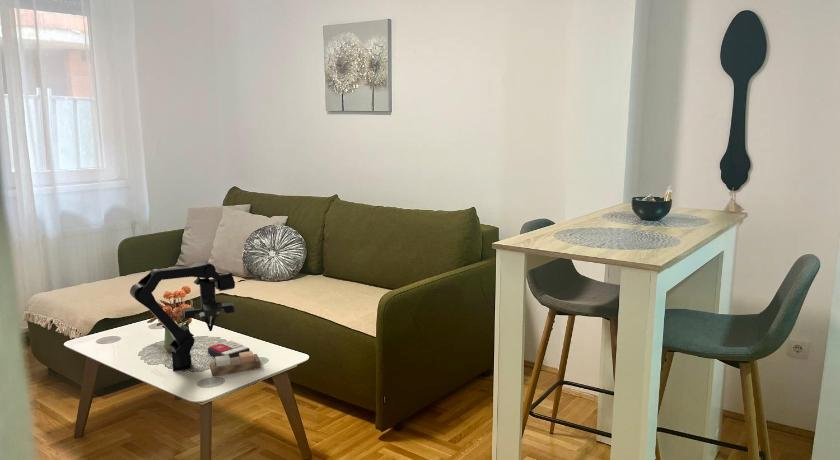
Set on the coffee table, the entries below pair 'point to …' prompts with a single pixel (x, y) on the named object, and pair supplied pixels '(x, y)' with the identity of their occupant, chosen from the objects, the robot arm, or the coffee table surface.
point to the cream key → (222, 360)
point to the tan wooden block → (246, 357)
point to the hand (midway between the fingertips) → (210, 330)
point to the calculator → (227, 349)
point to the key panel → (235, 366)
